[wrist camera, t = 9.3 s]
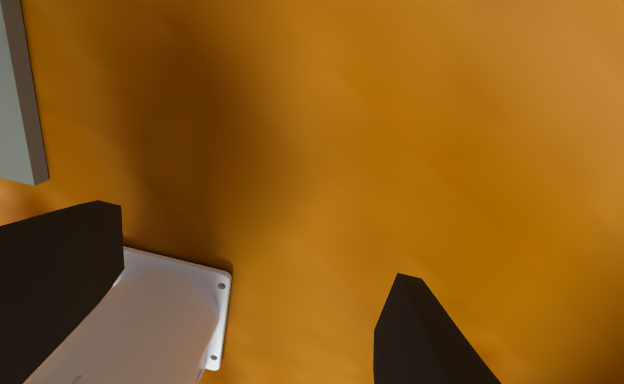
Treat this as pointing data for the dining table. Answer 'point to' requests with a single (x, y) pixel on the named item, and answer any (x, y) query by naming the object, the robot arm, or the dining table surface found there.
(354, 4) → the dining table surface
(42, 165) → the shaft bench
